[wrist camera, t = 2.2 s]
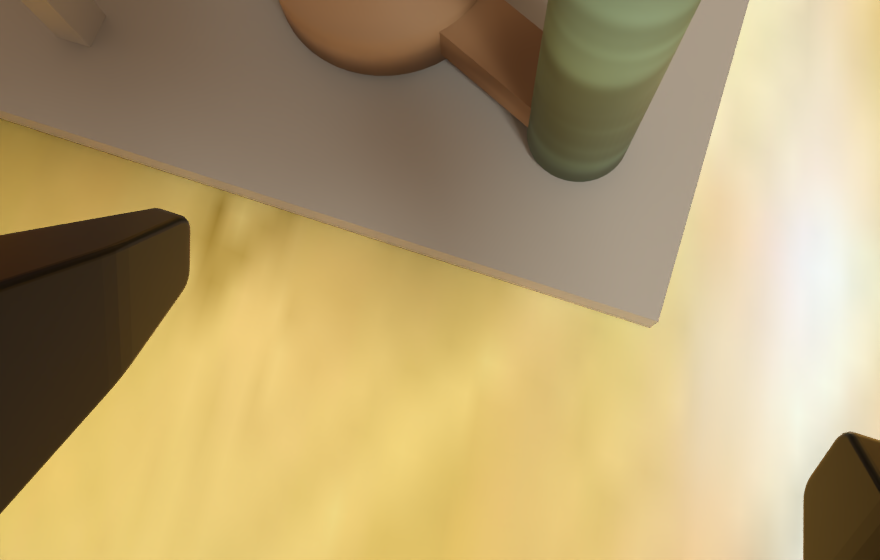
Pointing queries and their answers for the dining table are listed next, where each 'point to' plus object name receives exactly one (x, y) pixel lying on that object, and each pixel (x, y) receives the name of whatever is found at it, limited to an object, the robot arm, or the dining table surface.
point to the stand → (372, 138)
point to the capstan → (519, 61)
